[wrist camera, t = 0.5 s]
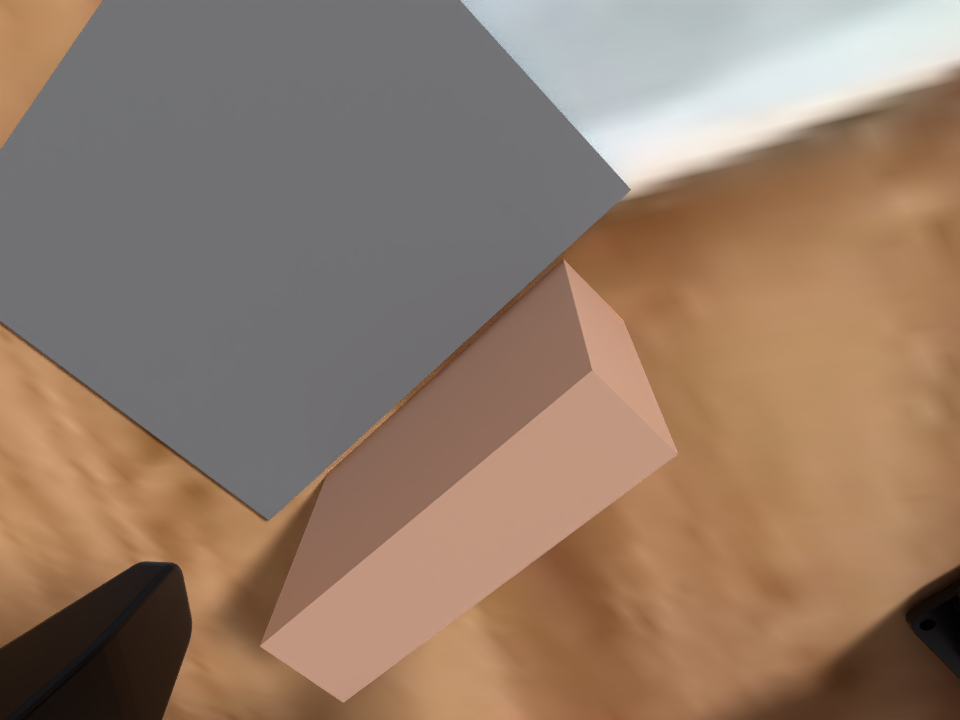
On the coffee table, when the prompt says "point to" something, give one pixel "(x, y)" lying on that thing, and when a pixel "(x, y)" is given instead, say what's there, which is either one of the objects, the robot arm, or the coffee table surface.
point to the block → (469, 484)
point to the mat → (280, 217)
